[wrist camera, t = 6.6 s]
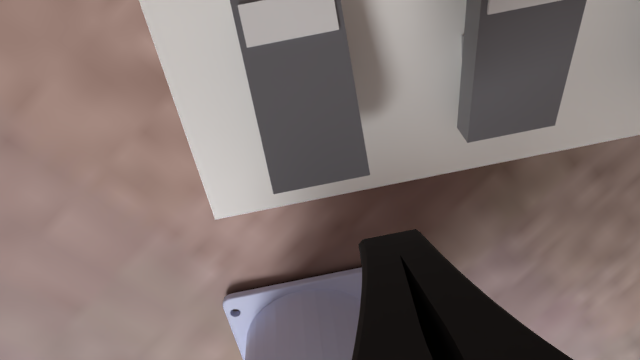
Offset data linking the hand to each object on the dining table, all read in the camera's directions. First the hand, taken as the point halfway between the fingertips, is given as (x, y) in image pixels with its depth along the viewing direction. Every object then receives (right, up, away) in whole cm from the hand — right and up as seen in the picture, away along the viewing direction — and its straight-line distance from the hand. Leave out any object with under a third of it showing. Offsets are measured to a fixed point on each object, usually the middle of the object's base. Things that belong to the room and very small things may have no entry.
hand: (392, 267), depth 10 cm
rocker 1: (-2, +5, +4) cm, 7 cm away
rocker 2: (+5, +6, +4) cm, 9 cm away
